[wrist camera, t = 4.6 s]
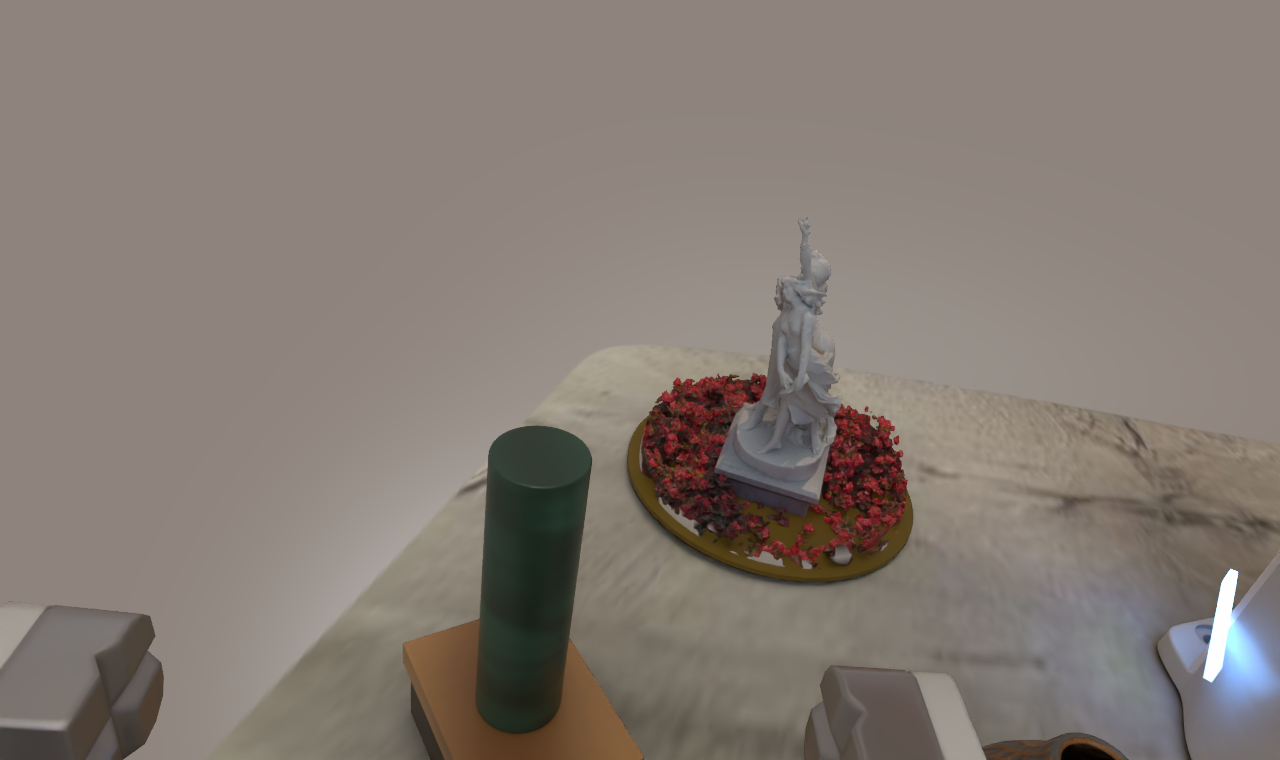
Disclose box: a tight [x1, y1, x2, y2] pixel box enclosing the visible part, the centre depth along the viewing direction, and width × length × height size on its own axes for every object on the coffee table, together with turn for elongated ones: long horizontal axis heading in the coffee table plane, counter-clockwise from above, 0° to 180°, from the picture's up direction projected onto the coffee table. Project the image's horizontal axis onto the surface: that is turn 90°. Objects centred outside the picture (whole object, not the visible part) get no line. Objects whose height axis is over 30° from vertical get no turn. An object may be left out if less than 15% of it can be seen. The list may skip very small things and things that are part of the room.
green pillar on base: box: [403, 426, 644, 760], centre depth 28 cm, size 5×7×14 cm
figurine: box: [627, 218, 913, 582], centre depth 43 cm, size 15×15×14 cm
